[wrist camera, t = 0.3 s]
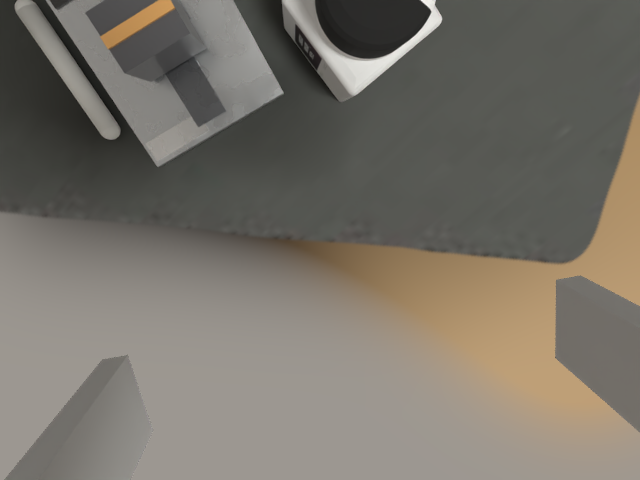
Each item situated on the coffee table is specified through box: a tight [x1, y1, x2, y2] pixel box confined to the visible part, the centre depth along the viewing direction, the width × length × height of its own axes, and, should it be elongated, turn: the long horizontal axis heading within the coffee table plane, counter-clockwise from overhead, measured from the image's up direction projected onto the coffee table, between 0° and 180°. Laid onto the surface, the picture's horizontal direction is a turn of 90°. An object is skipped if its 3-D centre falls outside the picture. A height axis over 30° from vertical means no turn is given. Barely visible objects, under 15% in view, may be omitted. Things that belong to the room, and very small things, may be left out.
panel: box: [46, 0, 284, 167], centre depth 31 cm, size 15×12×2 cm
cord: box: [15, 0, 121, 140], centre depth 32 cm, size 12×2×2 cm, turn 29°
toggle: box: [85, 0, 206, 82], centre depth 27 cm, size 4×5×5 cm
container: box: [282, 0, 442, 102], centre depth 27 cm, size 8×8×13 cm
